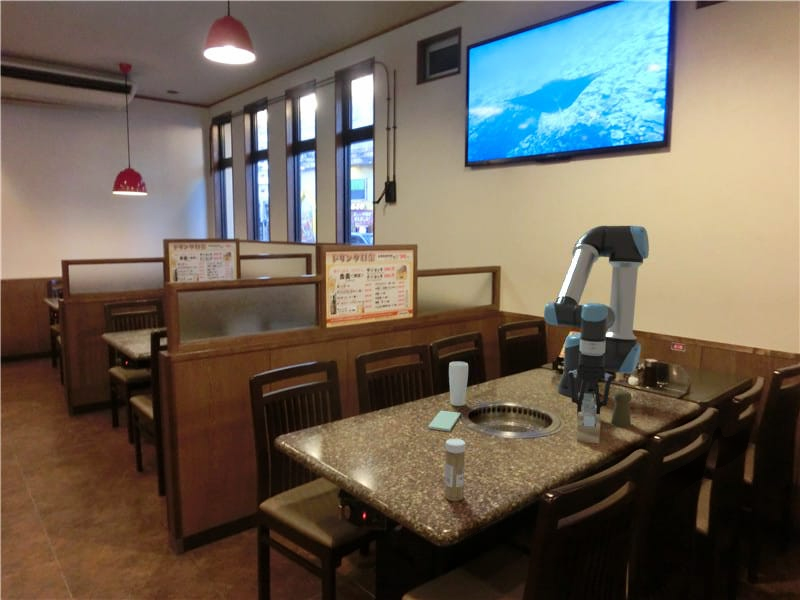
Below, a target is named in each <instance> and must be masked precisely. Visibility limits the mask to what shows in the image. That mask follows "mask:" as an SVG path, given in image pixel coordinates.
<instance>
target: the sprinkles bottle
mask: <svg viewBox="0 0 800 600" xmlns="http://www.w3.org/2000/svg"><path fill="white" fill-rule="evenodd" d="M465 453H466V441H465V440H463V439H461V438H449V439H447V440H446V441H445V460H446V461H445V470H444V471H445V475H444V476H445V478H444V479H445V480H444V481H445V492H444V497H445V498H446V499H447V500H449V501H453V502H459V501H461V500H463V499H464V498H465V494H464V490H465V487H464V485H465Z"/></svg>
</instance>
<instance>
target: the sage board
mask: <svg viewBox="0 0 800 600" xmlns="http://www.w3.org/2000/svg"><path fill="white" fill-rule="evenodd" d="M461 415H462V412H456V411H449V410H448V411H446V410H439V412H438V413H437V415H436V416H435V417H434V418H433V420H432V421H431V422H430V423H429V424H428V425H427V429H429V430H437V431H443V432H449V433H450V432H451V431H452V429H453V427H454V426H455V425H456V423H457V421H458V420H459V419H460V417H461Z"/></svg>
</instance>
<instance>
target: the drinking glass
mask: <svg viewBox="0 0 800 600" xmlns="http://www.w3.org/2000/svg"><path fill="white" fill-rule="evenodd" d="M448 378H449V379H448V382H449V397H450V399H449V403H450V405H451V406H453V407H463V406H465V404H466V396H467V387H468V386H467V385H468V378H469V364H468V362H465V361H451V362H449V365H448Z"/></svg>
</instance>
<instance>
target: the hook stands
mask: <svg viewBox="0 0 800 600" xmlns="http://www.w3.org/2000/svg"><path fill="white" fill-rule="evenodd" d="M578 398H579V396H578ZM578 398H577V399H578ZM582 404H583V401H582ZM594 405H596V396H595V394H594ZM576 417H577V433H576V442H580V443H581V442H582V443H588V442H589V444H595V443H597V444H596V445H599V444H600V437H601V435H600V434H601V419H602V418H601V417H602V416H601V413H600V414H596V424H595V425H594V427H592V426H584V416H583V413H582V412H578V414H577V416H576ZM582 420H583V422H582Z"/></svg>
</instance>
